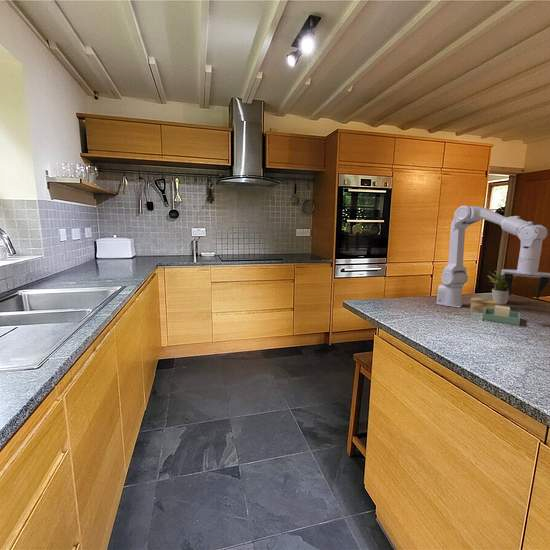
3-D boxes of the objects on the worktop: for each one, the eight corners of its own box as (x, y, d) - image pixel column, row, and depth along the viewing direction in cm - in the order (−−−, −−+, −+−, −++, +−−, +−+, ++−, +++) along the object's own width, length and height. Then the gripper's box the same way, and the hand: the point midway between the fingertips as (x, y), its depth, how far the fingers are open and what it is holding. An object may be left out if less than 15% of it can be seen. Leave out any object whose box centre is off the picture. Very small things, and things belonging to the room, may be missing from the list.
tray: (482, 319, 114) (483, 313, 113) (484, 313, 122) (485, 307, 122) (519, 326, 107) (520, 319, 107) (518, 318, 116) (519, 312, 115)
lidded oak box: (469, 310, 126) (470, 299, 125) (470, 307, 131) (472, 296, 130) (495, 314, 121) (496, 303, 120) (496, 311, 125) (497, 300, 124)
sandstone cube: (493, 318, 114) (494, 307, 113) (493, 316, 118) (495, 305, 117) (508, 321, 111) (509, 309, 111) (508, 318, 115) (509, 307, 114)
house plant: (516, 301, 144) (521, 267, 141) (526, 308, 131) (531, 271, 129) (481, 298, 150) (485, 265, 147) (487, 304, 137) (492, 269, 134)
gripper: (503, 258, 107) (497, 295, 109) (557, 261, 98) (551, 301, 100) (503, 257, 113) (498, 292, 115) (555, 260, 104) (549, 298, 106)
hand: (523, 296), depth 108 cm, fingers open, 7 cm apart
